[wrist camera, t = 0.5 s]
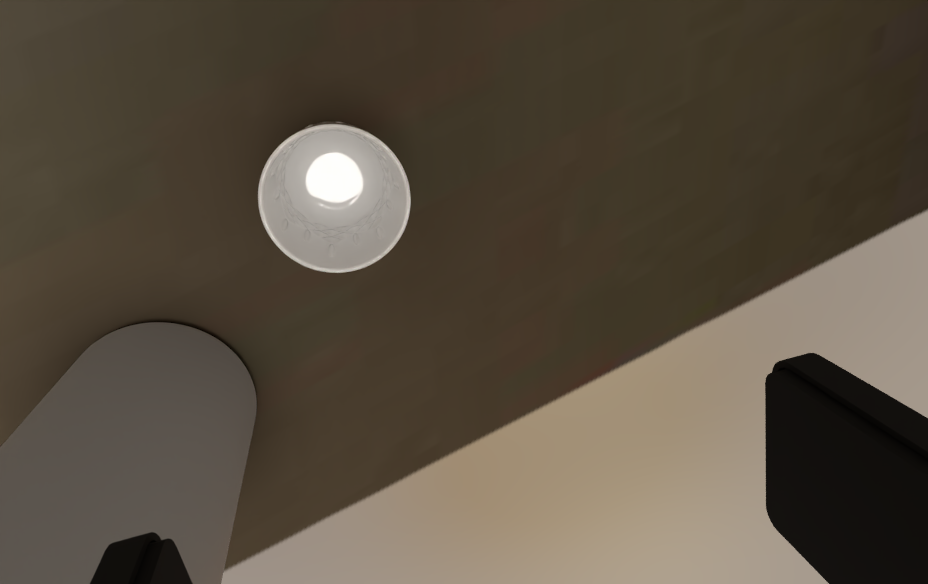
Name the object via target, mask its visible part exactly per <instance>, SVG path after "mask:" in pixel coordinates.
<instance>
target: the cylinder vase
mask: <svg viewBox="0 0 928 584" xmlns="http://www.w3.org/2000/svg"><path fill="white" fill-rule="evenodd" d="M256 411H257V399H256V392H255V388H254V384H253V381H252V379H251V376H250V374H249V372H248V370H247V369H246V367H245V365H244V364H243V362H242V361H241V360H240V359H239V357H238V356H237V355H236V354H235V353H234V352H233V351H232V350H231V349H230V348H229V347H228V346H226V345H225V344H224V343H222V342H221V341H220V340H218V339H216V338H215V337H213V336H211V335H209V334H207V333H205V332H203V331H201V330H198V329H195V328H192V327H189V326H185V325H181V324H175V323H165V322H151V323H141V324H136V325H131V326H127V327H124V328H121V329H118V330H116V331H113V332H111V333H109V334H107V335H105V336H104V337H102V338H100V339H99V340H97V341H96V342H95V343H93V344H92V345H91V346H90V347H88V348H87V349H86V350H85V351H84V352H83V353H82V354H81V356H80V357H79V358H78V359H77V360H76V361H75V362H74V364H73V365H72V366H71V367H70V368H69V369H68V370H67V372H66V373H65V374H64V375H63V376H62V377H61V378H60V380H59V381H58V382H57V383H56V384H55V385H54V386H53V388H52V389H51V390H50V391H49V392H48V393H47V394H46V396H45V397H44V398H43V399H42V400H41V401H40V402H39V404H38V405H37V406H36V407H35V408H34V409H33V410H32V412H31V413H30V414H29V415H28V416H27V417H26V418H25V420H24V421H23V422H22V423H21V424H20V425H19V426H18V428H17V429H16V430H15V431H14V432H13V433H12V434H11V436H10V437H9V438H8V439H7V440H6V441H5V442H4V444H3V445H2V446H1V447H0V584H90V582H91V580H92V578H93V576H94V574H95V571H96V569H97V567H98V565H99V563H100V561H101V558H102V556H103V554H104V552H105V550H106V548H107V547H108V545H110V544H111V543H113V542H117V541H121V540H124V539H128V538H132V537H135V536H139V535H143V534H146V533H150V532H154V533H156V534H157V535H159V536H160V538H161V540H164V539H167V538H170V539H172V540H173V541H174V543H175V544H176V546H177V549H178V551H179V553H180V556H181V558H182V560H183V562H184V565H185V567H186V569H187V572H188V574H189V576H190V579H191V581H192V583H193V584H221V580H222V575H223V571H224V566H225V562H226V557H227V552H228V547H229V542H230V538H231V533H232V528H233V523H234V519H235V514H236V509H237V504H238V500H239V495H240V490H241V485H242V481H243V476H244V471H245V466H246V461H247V457H248V452H249V447H250V442H251V438H252V433H253V428H254V423H255V418H256Z"/></svg>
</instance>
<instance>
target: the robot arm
mask: <svg viewBox="0 0 928 584" xmlns="http://www.w3.org/2000/svg"><path fill="white" fill-rule="evenodd" d="M765 387H766V388H765V391H766V392H765V393H766V509H767V512H768V516H769V518H770V520H771V522H772V524H773V526H774V527H775V528H776V529H777V531H778V532H779V533H780V534H781V535H782V536H783V537H784V538H785V539H786V540H787V541H788V542H789V543H790V544H791V545H792V546H793V547H794V548H795V549H796V550H797V551H798V552H799V553H800V554H801V555H802V556H803V557H804V558H805V559H806V560H807V561H808V562H809V564H810V565H811V566H813V567H814V569H815V570H816V571H817V572H818V573H819V574H820V575H821V576H822V577H823V578H824V579H825V580H826V581H827V582H828V583H829V584H928V418H926V417H924V416H922V415H921V414H919V413H918V412H916V411H914V410H913V409H911V408H909V407H907V406H906V405H904V404H902V403H900V402H899V401H897V400H895V399H894V398H892V397H890V396H888V395H887V394H885V393H883V392H882V391H880V390H878V389H877V388H875V387H873V386H871V385H870V384H868V383H866V382H864V381H863V380H861V379H859V378H857V377H856V376H854V375H853V374H851V373H849V372H847V371H846V370H844V369H842V368H840V367H839V366H837V365H835V364H834V363H832V362H830V361H828V360H826V359H825V358H823V357H821V356H820V355H817V354H815V353H808V354H804V355H801V356H797V357H793V358H789V359H786V360H782V361H779V362H777V363H776V364H775V365H774V367H773V371H772V373H770V374H768V376H767V378H766V383H765ZM90 584H193V583H192V581H191V579H190V576H189V574H188V572H187V569H186V567H185V565H184V562H183V560H182V558H181V556H180V553H179V551H178V549H177V546H176V544H175V543H174V541H173V540H172V539H170V538H167V539H164V540H161V538H160V536H159V535H157V534H156V533H154V532H150V533H146V534H143V535H139V536H135V537H132V538H128V539H124V540H121V541H117V542H113V543H111V544H110V545H108V547H107V548H106V550H105V552H104V554H103V556H102V558H101V561H100V563H99V565H98V567H97V569H96V571H95V574H94V576H93V578H92V580H91V582H90Z"/></svg>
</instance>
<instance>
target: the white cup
mask: <svg viewBox="0 0 928 584" xmlns="http://www.w3.org/2000/svg"><path fill="white" fill-rule="evenodd" d="M410 204H411V197H410V188H409V183H408V179H407V176H406V174H405V171H404V169H403V167H402V165H401V163H400V162H399V160H398V158H397V157H396V156H395V154H394V153H393V152H392V151H391V150H390V149H389V148H388V147H387V146H386V145H385V144H384V143H383V142H382V141H381V140H379V139H378V138H376V137H375V136H373V135H372V134H370V133H369V132H367V131H365V130H363V129H361V128H359V127H357V126H354V125H351V124H348V123H343V122H335V121H329V122H321V123H316V124H313V125H310V126H307V127H305V128H303V129H301V130H299V131H298V132H296V133H295V134H293V135H292V136H290V137H289V138H287V139H286V140H285V141H284V142H282V143H281V144H280V145H279V146H278V147H277V148H276V150H275V151H274V152H273V153H272V155H271V156H270V157H269V159H268V161H267V163H266V164H265V167H264V169H263V171H262V174H261V178H260V182H259V188H258V205H259V211H260V216H261V219H262V222H263V224H264V227H265V229H266V231H267V233H268V234H269V236H270V238H271V239H272V240H273V242H274V243H275V244H276V245H277V247H278V248H279V249H280V250H281V251H282V252H283V253H285V254H286V255H287V256H288V257H290V258H291V259H292V260H294V261H296V262H297V263H299V264H301V265H303V266H306V267H308V268H311V269H314V270H318V271H322V272H330V273H343V272H350V271H355V270H359V269H362V268H364V267H367V266H369V265H371V264H373V263H375V262H376V261H378V260H379V259H381V258H382V257H383V256H385V255H386V254H387V253H388V252H389V251H390V250H391V249H392V248H393V247H394V246H395V244H396V243H397V242H398V240H399V239H400V237H401V235H402V234H403V232H404V229H405V227H406V224H407V221H408V218H409V213H410Z"/></svg>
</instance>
